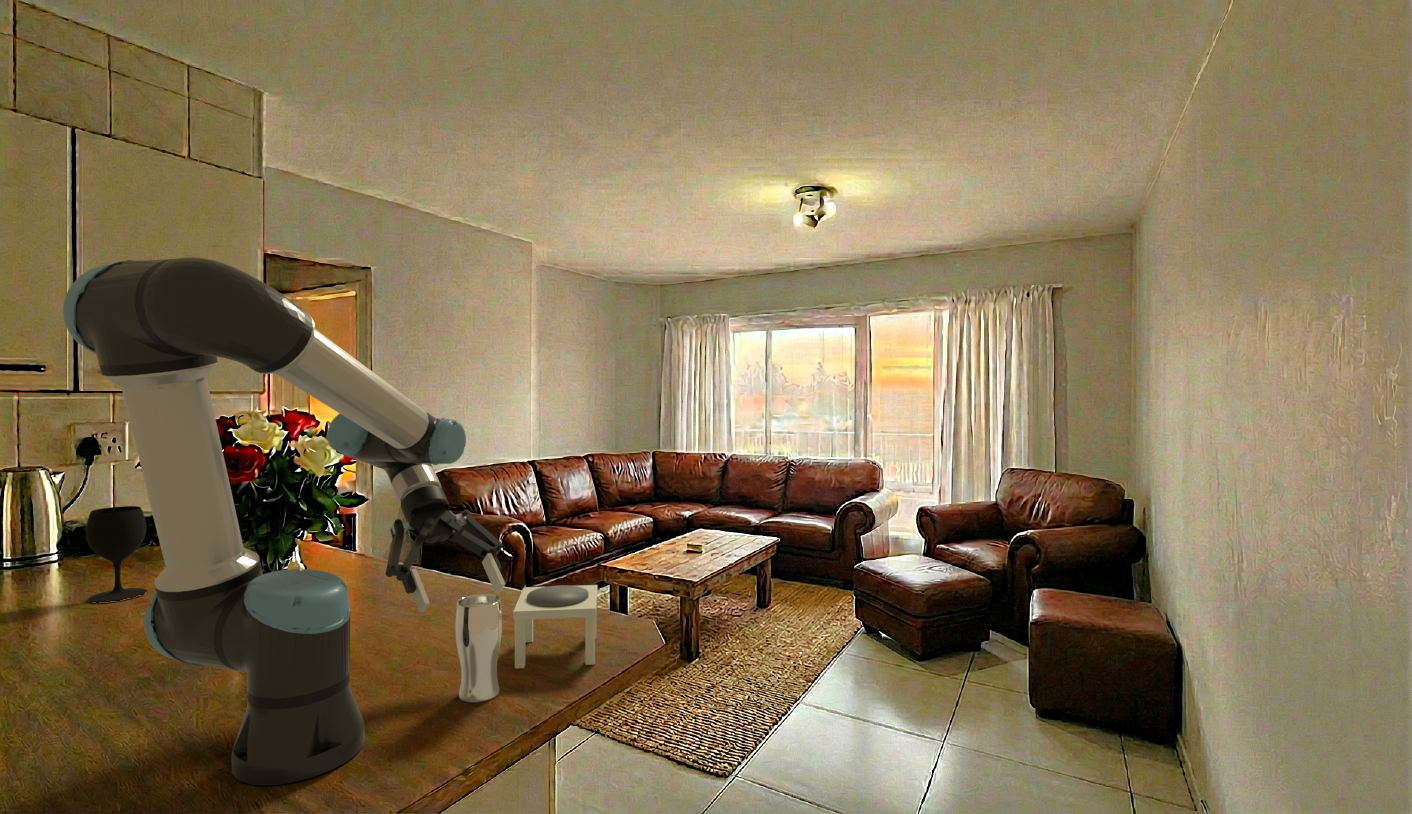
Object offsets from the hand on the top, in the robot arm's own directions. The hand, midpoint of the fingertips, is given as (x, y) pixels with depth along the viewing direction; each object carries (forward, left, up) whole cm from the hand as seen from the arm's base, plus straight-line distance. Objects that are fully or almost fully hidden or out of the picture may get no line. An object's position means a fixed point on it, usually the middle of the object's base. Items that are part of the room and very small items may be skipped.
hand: (464, 598), depth 113 cm
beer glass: (+3, -6, -14) cm, 15 cm away
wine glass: (-88, +55, -14) cm, 104 cm away
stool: (+14, +10, -13) cm, 22 cm away
